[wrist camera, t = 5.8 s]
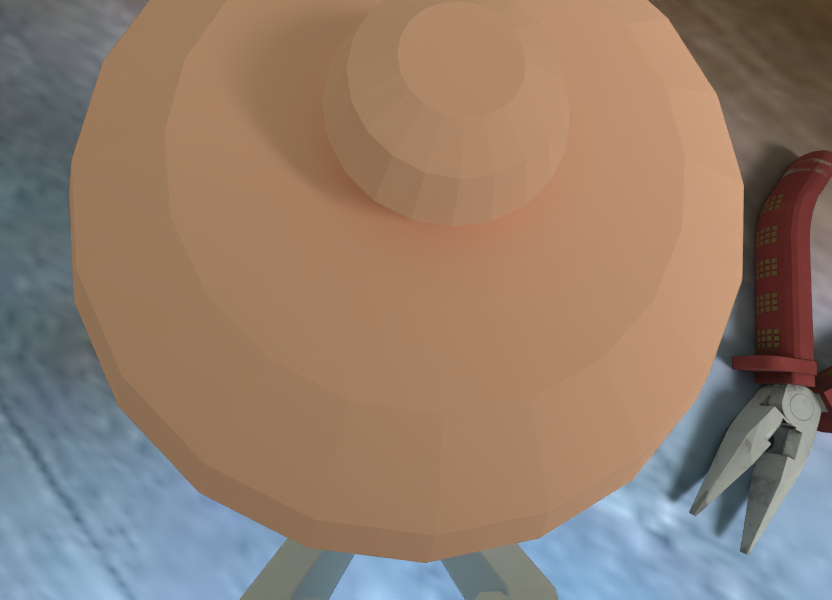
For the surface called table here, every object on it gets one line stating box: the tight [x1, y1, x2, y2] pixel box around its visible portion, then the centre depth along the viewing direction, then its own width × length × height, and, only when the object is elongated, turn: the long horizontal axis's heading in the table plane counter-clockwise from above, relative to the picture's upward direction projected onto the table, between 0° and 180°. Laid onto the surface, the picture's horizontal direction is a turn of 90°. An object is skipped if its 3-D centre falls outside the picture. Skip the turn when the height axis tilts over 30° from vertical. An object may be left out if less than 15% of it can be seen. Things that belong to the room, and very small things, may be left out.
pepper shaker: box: [69, 0, 744, 563], centre depth 12 cm, size 7×7×19 cm
